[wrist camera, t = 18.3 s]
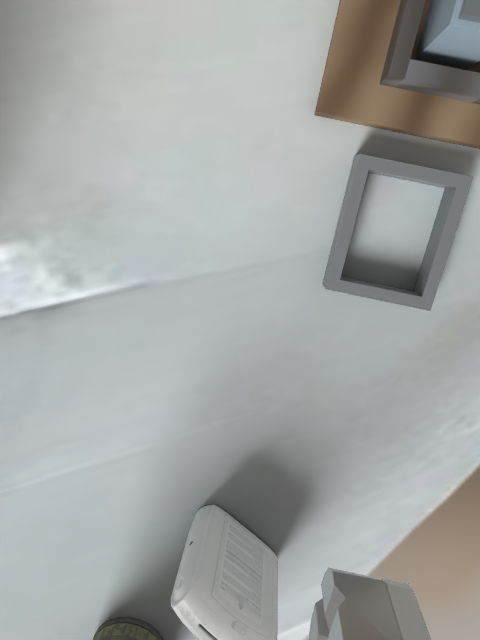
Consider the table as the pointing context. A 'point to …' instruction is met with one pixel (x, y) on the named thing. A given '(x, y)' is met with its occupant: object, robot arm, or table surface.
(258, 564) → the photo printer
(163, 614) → the table surface
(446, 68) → the dock
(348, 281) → the grey rectangular frame
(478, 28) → the plug
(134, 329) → the table surface
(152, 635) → the thermos
